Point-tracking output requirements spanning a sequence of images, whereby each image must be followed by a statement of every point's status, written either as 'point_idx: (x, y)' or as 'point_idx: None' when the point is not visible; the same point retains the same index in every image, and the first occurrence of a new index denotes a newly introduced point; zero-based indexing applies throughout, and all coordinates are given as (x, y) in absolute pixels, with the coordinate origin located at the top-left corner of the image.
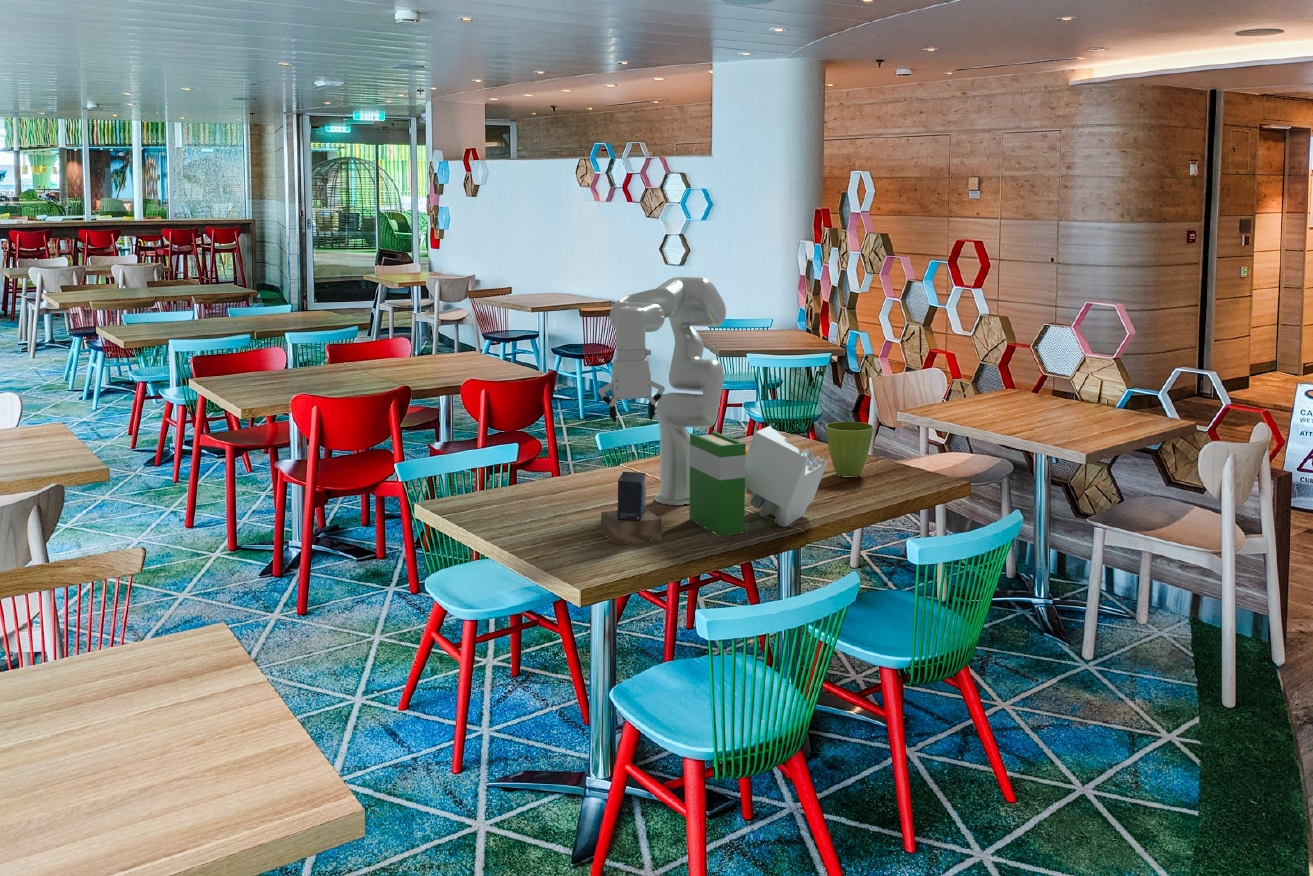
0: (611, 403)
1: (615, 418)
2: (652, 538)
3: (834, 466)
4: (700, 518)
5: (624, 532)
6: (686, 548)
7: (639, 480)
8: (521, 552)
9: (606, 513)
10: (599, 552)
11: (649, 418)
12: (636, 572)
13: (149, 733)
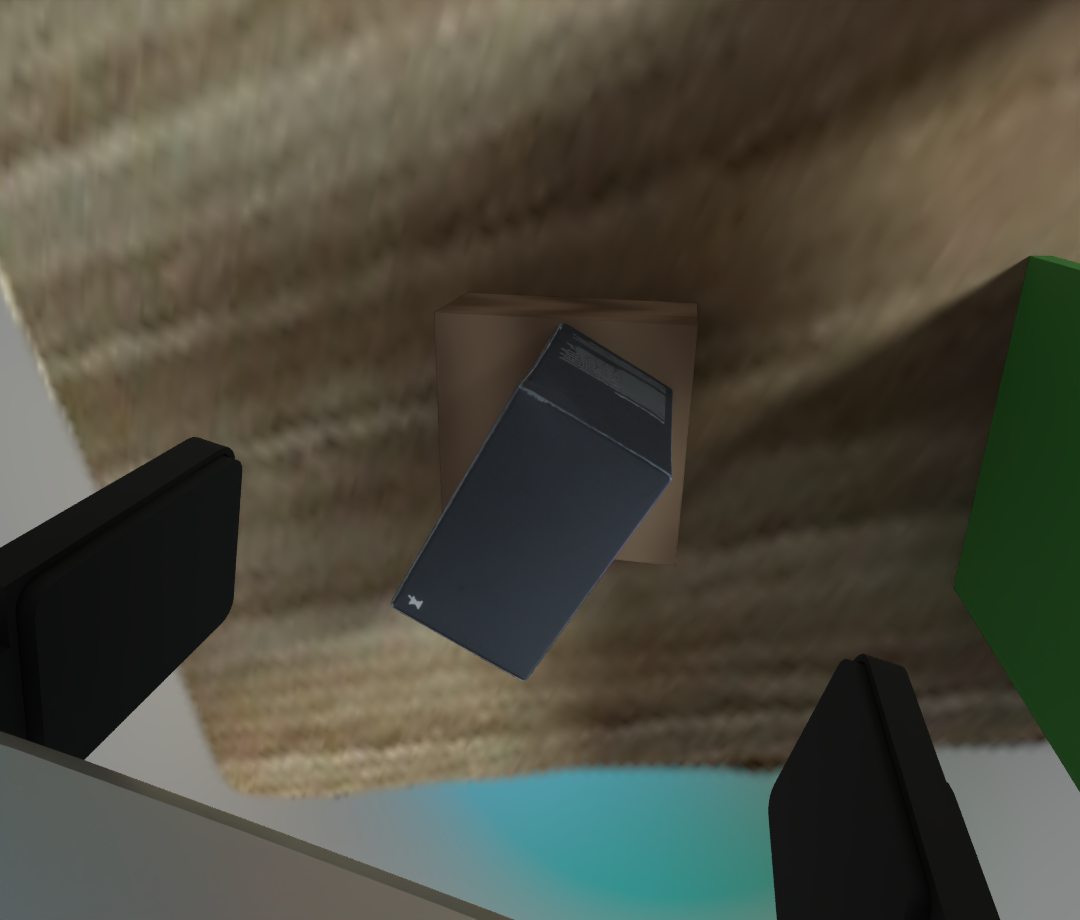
0: None
1: (193, 637)
2: None
3: None
4: (1013, 408)
5: None
6: (713, 657)
7: (525, 657)
8: (95, 408)
9: (452, 350)
10: (374, 543)
11: (789, 765)
12: (426, 772)
13: None
